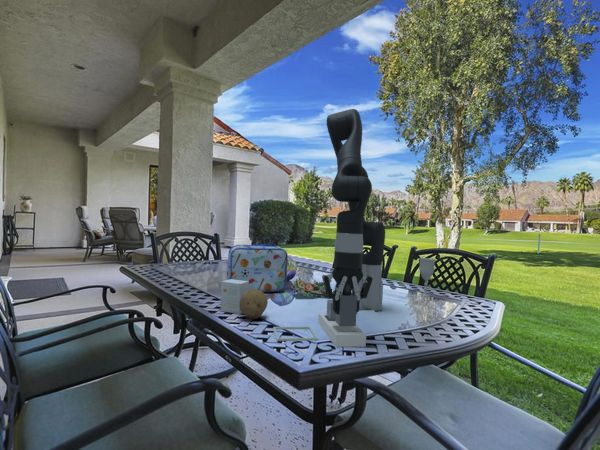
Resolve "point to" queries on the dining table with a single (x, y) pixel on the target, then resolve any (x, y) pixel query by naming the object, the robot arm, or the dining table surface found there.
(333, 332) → the cream socket block
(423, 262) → the chalice
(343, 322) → the plug
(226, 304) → the small box
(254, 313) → the natural sponge
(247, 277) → the lunch box
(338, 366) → the dining table surface
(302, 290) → the plated dish
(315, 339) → the tray
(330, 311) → the seated twin plug
